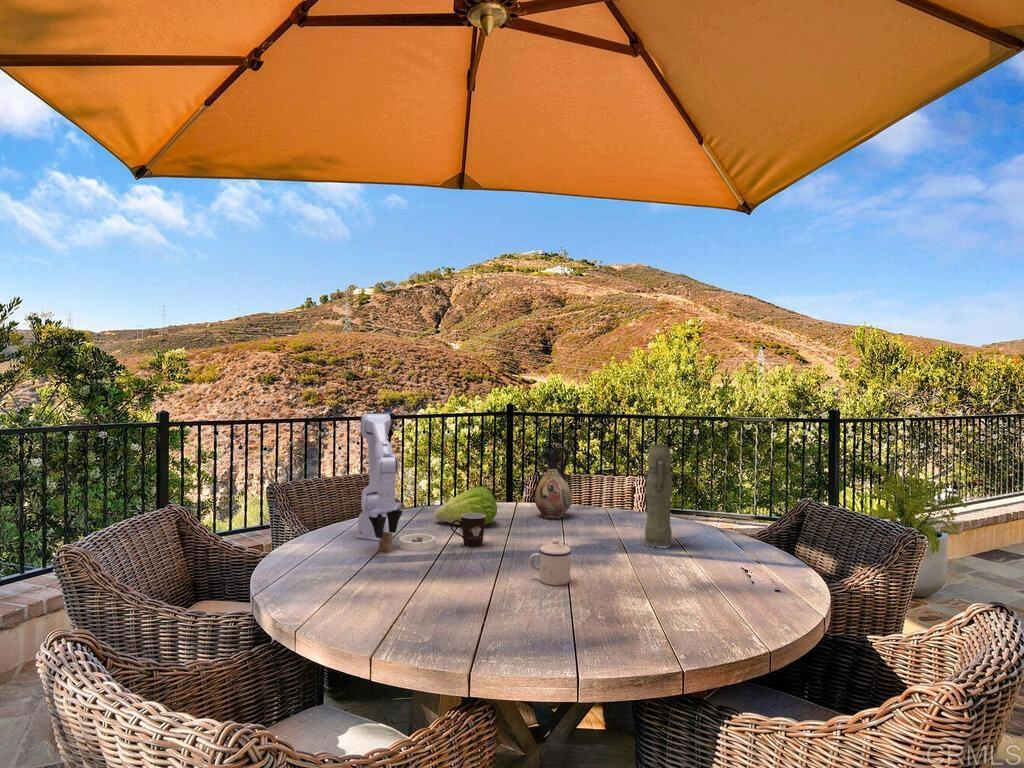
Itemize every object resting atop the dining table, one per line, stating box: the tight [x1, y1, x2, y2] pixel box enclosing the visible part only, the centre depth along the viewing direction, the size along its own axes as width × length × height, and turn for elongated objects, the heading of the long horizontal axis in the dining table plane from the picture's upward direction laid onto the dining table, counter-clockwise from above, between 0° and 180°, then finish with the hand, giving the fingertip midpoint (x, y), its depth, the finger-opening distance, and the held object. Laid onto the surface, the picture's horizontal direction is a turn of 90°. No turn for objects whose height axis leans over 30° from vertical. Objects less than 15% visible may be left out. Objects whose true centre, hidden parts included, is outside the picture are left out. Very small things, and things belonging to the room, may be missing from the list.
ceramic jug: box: [534, 445, 573, 519], centre depth 247 cm, size 17×15×30 cm
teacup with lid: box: [528, 538, 572, 586], centre depth 168 cm, size 12×9×12 cm
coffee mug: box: [450, 513, 486, 548], centre depth 203 cm, size 12×9×10 cm
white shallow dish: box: [398, 533, 436, 552], centre depth 200 cm, size 12×12×2 cm
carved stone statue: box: [644, 444, 673, 546], centre depth 206 cm, size 9×12×35 cm
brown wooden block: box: [378, 531, 393, 553], centre depth 193 cm, size 4×1×6 cm, turn 68°
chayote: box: [434, 486, 498, 526], centre depth 232 cm, size 15×24×16 cm
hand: (385, 534), depth 193 cm, fingers open, 7 cm apart
